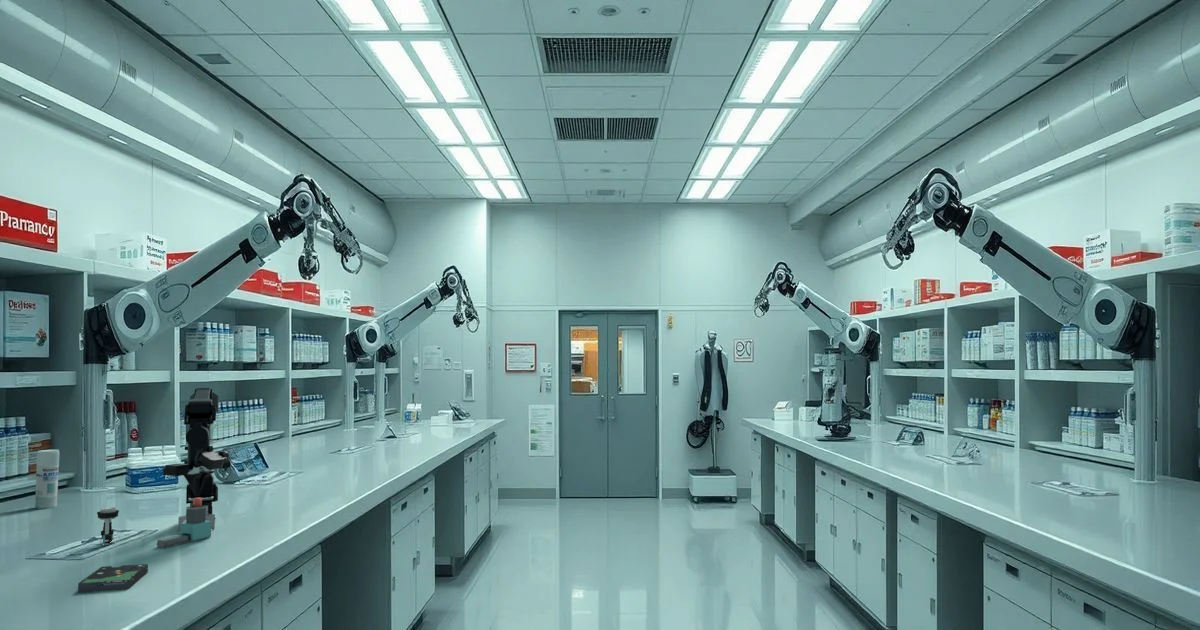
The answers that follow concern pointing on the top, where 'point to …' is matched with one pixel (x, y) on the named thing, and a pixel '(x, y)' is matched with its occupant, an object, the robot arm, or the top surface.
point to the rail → (174, 540)
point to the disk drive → (113, 578)
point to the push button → (107, 523)
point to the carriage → (196, 524)
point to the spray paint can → (47, 479)
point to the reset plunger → (197, 502)
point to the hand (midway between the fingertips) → (197, 495)
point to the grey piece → (208, 518)
